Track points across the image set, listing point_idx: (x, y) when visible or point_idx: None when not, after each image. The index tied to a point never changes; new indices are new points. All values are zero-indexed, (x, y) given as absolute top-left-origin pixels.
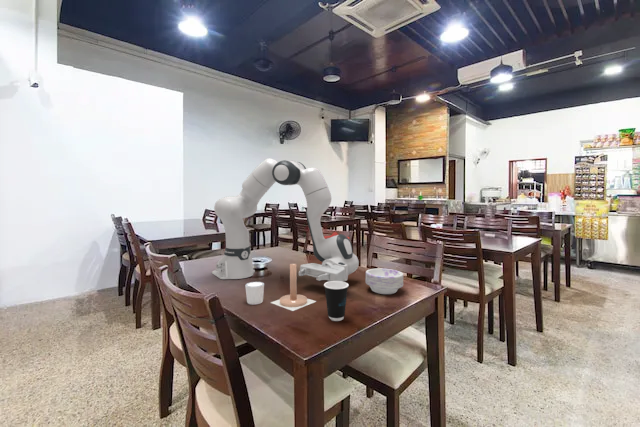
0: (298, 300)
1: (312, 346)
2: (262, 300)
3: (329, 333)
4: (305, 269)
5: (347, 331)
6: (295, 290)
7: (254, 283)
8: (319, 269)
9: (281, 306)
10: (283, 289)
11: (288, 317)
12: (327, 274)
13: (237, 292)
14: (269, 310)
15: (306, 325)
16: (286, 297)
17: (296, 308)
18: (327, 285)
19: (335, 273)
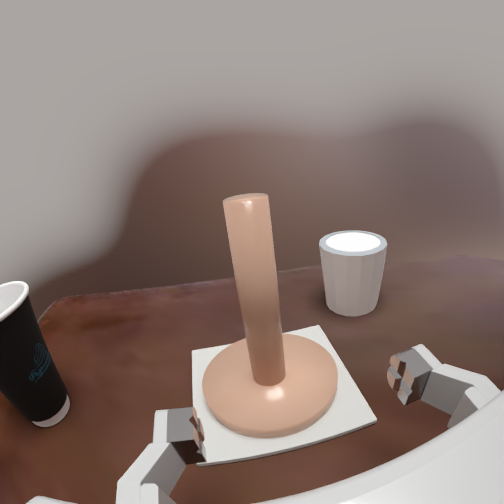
0: (234, 381)
1: (58, 313)
2: (336, 305)
3: None
4: (465, 395)
5: None
6: (247, 343)
7: (365, 242)
8: (309, 501)
9: None
10: None
11: (173, 333)
12: (117, 485)
13: (459, 279)
14: None
15: (102, 340)
16: (304, 358)
17: (199, 366)
18: (22, 310)
19: (32, 499)
